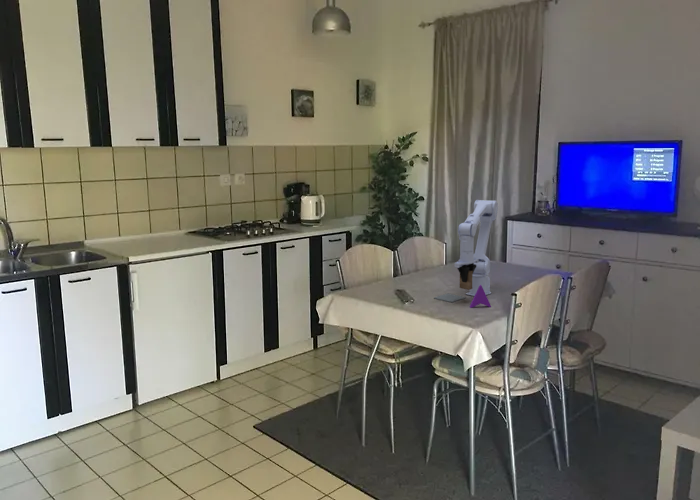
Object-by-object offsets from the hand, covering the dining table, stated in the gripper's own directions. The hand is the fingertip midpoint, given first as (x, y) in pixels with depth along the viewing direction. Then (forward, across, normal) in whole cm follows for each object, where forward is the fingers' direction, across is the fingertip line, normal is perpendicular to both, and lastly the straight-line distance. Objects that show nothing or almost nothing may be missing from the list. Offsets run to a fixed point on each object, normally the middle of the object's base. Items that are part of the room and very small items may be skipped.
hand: (466, 281), depth 255 cm
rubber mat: (+9, 0, -9) cm, 13 cm away
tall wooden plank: (+3, 0, 0) cm, 3 cm away
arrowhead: (+10, +2, +9) cm, 13 cm away
